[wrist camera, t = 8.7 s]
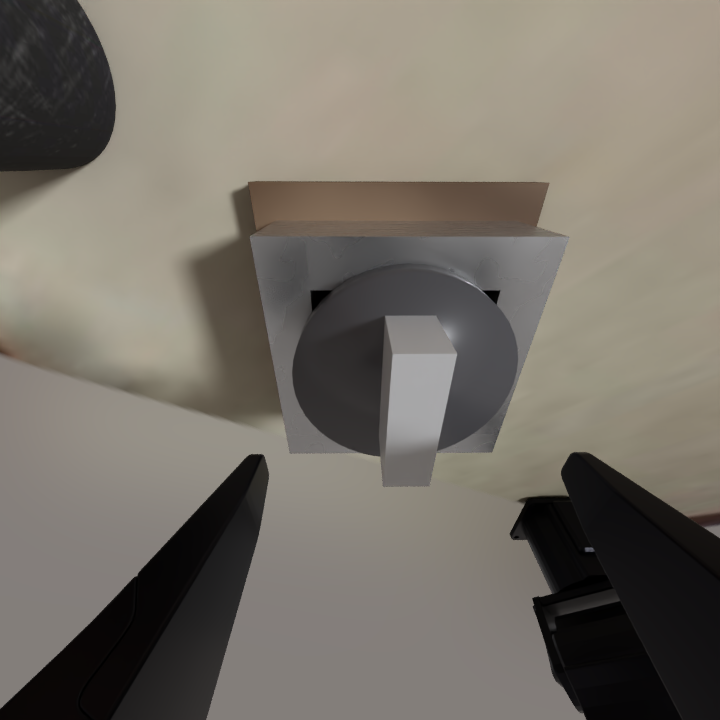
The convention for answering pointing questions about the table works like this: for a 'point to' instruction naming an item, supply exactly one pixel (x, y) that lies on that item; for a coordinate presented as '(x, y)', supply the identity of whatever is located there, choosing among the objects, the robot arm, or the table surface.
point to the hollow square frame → (387, 247)
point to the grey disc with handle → (404, 366)
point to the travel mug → (52, 87)
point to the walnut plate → (396, 201)
